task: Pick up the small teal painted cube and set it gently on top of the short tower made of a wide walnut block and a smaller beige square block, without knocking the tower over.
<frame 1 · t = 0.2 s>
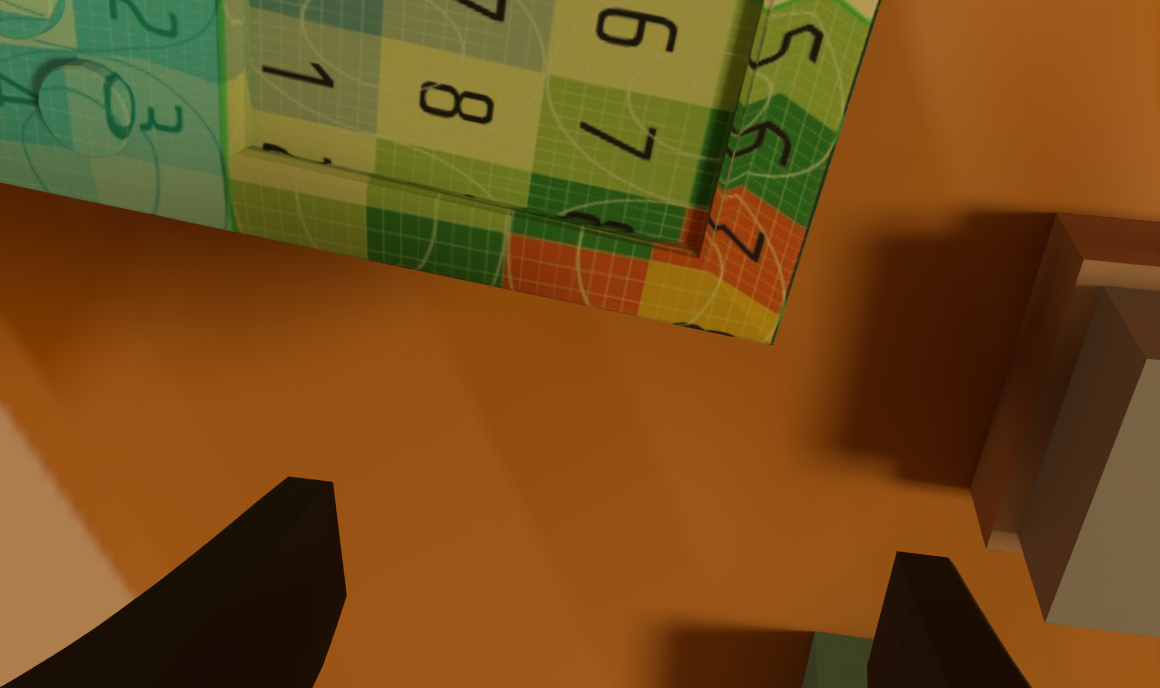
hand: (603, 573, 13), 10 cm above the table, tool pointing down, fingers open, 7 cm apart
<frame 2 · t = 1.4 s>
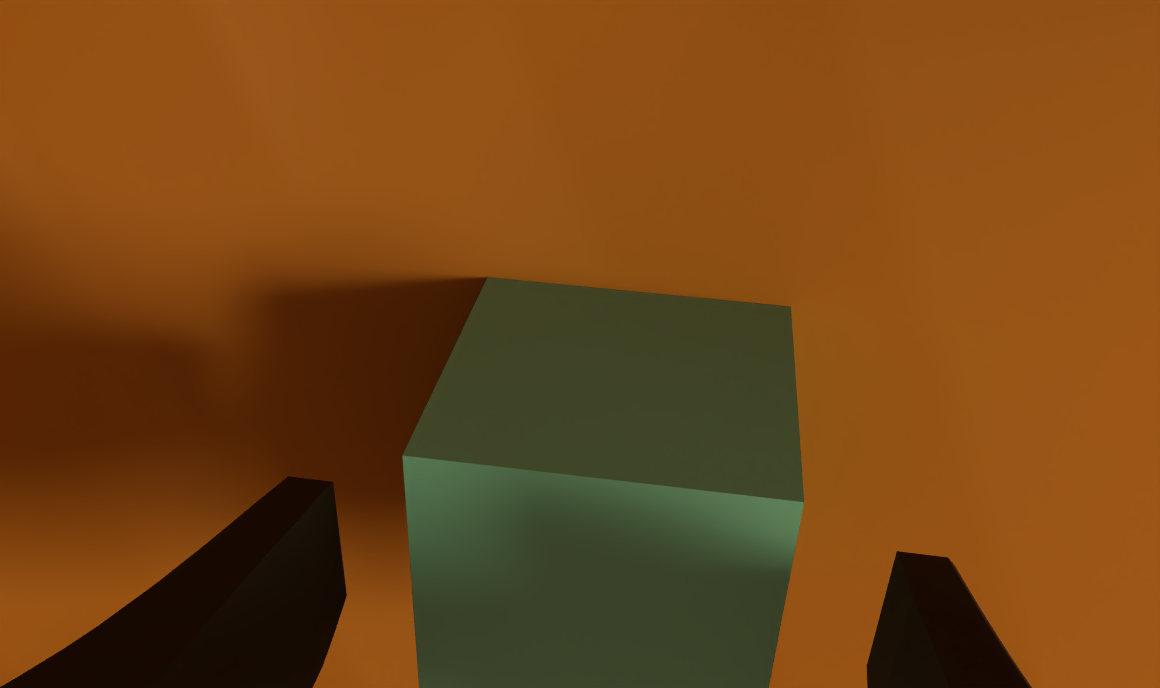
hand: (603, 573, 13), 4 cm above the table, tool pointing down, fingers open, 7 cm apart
teal cube: (628, 413, 16), on the table
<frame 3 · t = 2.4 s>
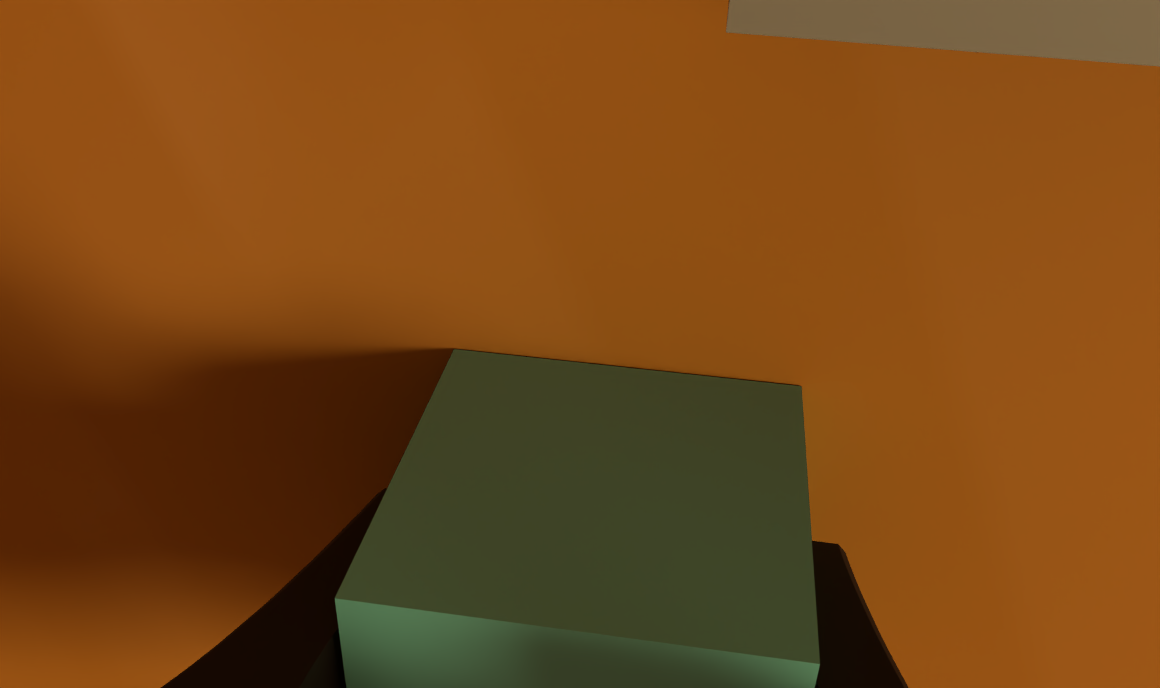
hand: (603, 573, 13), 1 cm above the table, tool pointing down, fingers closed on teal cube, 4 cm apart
teal cube: (615, 501, 14), on the table, touching gripper
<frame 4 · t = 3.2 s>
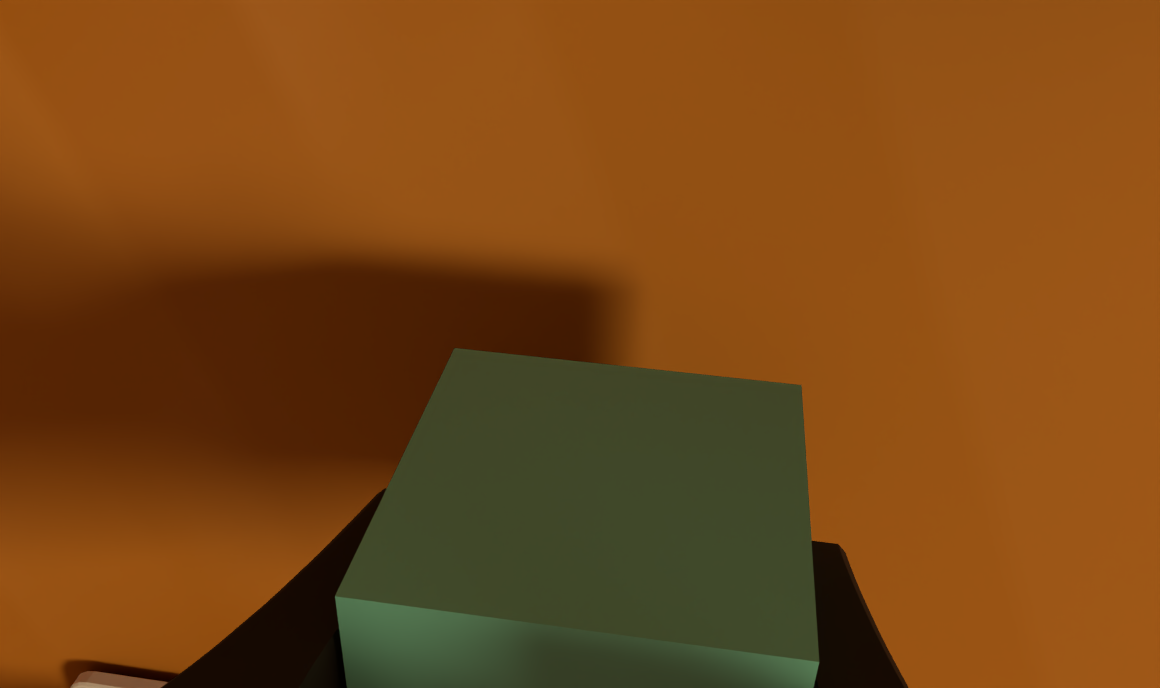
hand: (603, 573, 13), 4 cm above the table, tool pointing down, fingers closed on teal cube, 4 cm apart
teal cube: (615, 500, 14), point 3 cm above the table, touching gripper
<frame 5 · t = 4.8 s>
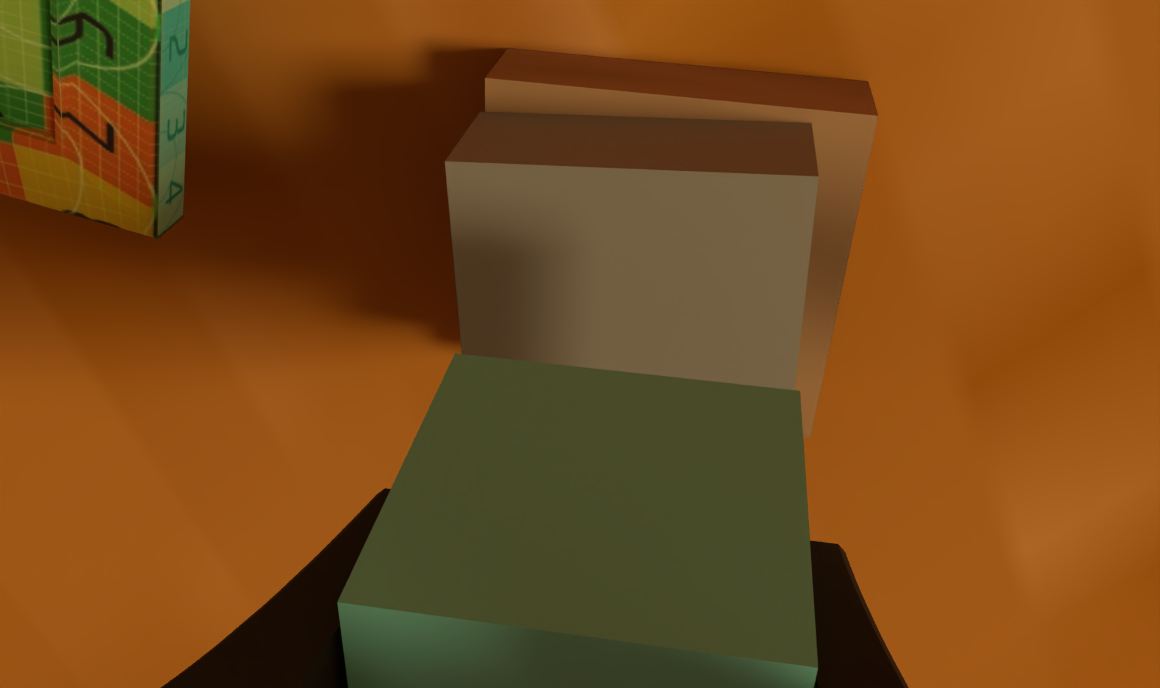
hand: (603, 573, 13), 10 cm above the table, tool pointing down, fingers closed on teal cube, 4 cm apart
teal cube: (615, 504, 14), point 9 cm above the table, touching gripper
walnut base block: (669, 218, 22), on the table
beige square block: (639, 265, 20), point 2 cm above the table
when the fingers open (7 cm above the table, at t = 5.8 s): teal cube drops 1 cm, resting on beige square block.
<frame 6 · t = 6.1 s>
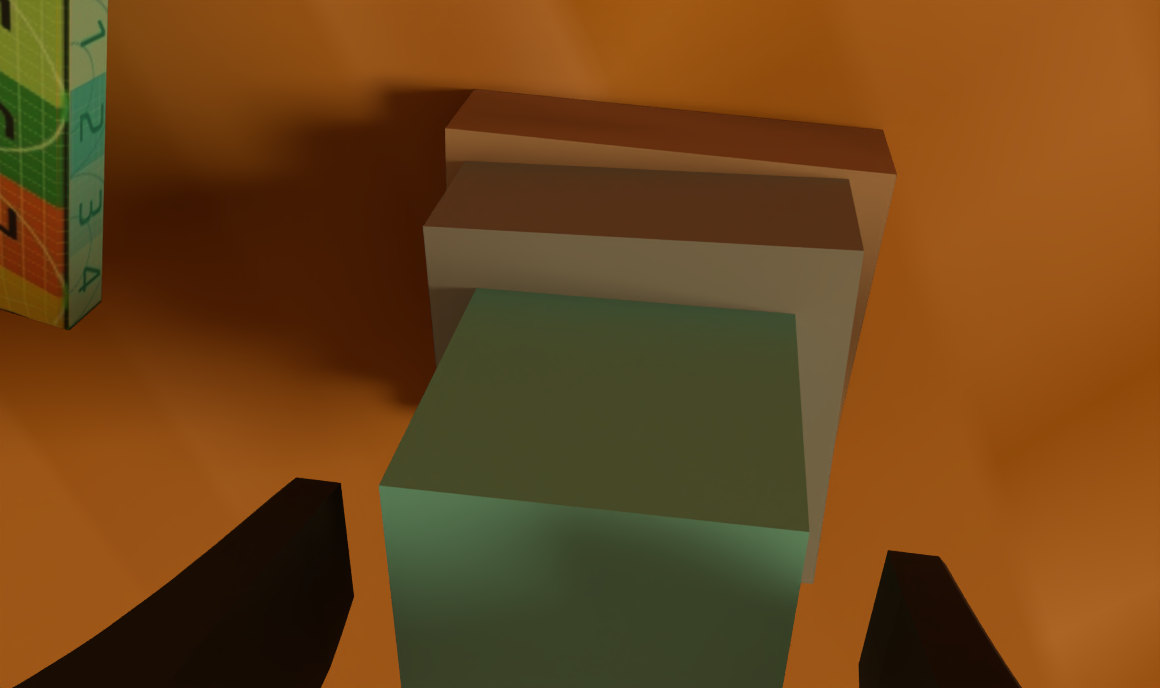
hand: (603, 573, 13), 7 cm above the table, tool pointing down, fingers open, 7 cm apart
teal cube: (626, 429, 16), point 4 cm above the table, touching beige square block
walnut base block: (657, 276, 20), on the table, touching beige square block
beige square block: (647, 334, 18), point 2 cm above the table, touching teal cube, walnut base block
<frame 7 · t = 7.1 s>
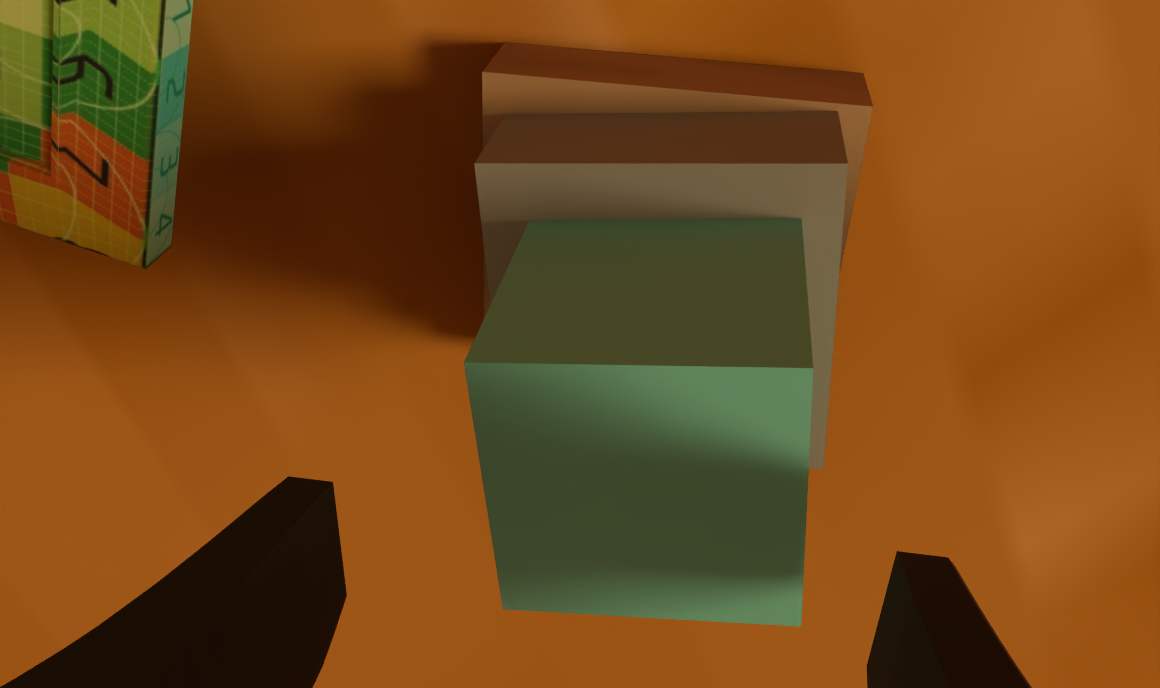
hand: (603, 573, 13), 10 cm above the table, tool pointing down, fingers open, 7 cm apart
teal cube: (666, 336, 18), point 4 cm above the table, touching beige square block
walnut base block: (666, 211, 22), on the table, touching beige square block
beige square block: (669, 261, 20), point 2 cm above the table, touching teal cube, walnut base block
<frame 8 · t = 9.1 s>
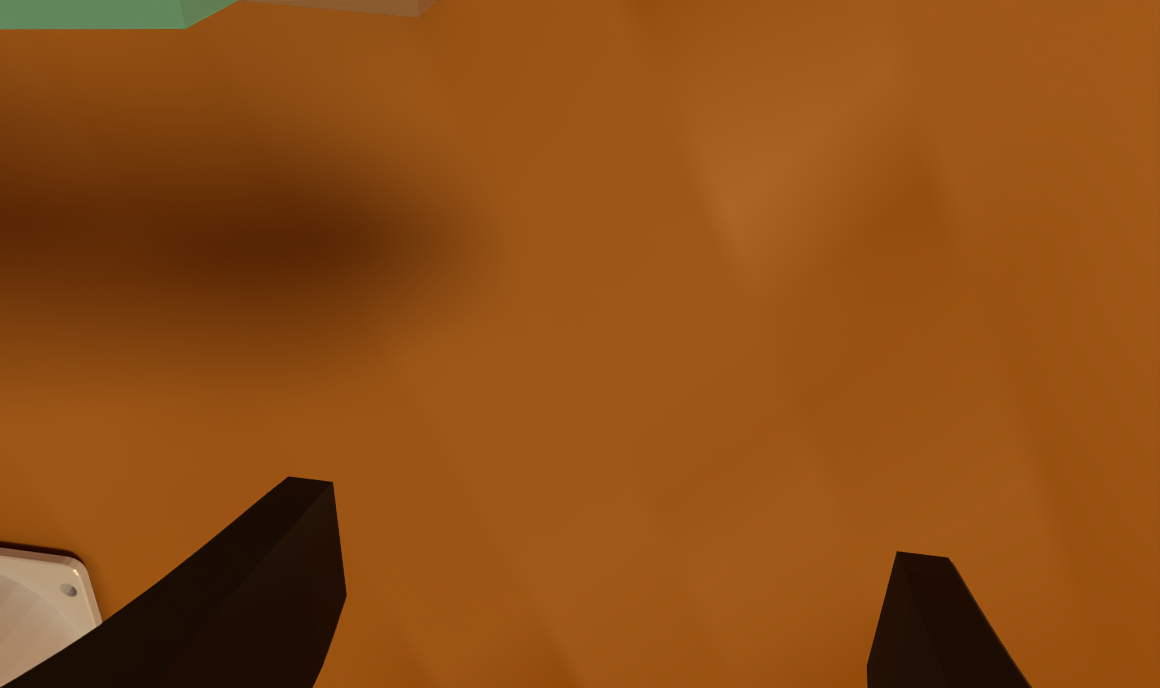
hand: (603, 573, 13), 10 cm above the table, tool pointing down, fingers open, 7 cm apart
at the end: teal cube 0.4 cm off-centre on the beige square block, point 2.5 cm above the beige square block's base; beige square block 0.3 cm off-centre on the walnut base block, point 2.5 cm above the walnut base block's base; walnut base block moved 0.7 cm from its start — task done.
